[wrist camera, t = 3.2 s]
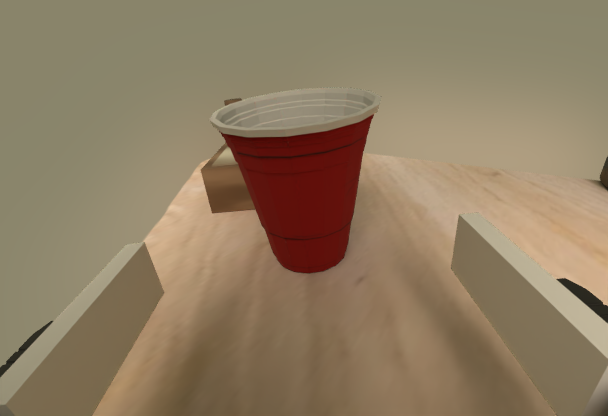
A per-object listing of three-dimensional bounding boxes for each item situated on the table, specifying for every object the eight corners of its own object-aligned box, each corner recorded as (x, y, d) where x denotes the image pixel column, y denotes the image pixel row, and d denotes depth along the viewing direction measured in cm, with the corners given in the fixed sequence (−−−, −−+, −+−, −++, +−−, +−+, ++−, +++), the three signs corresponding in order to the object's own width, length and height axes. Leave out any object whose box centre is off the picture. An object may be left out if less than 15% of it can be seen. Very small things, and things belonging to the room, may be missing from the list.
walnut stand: (348, 200, 32) (345, 103, 28) (212, 212, 33) (187, 120, 28) (333, 156, 47) (329, 88, 43) (239, 165, 48) (226, 99, 43)
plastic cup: (226, 303, 20) (174, 120, 15) (259, 223, 30) (235, 95, 24) (391, 299, 19) (400, 100, 14) (370, 217, 28) (370, 82, 23)
